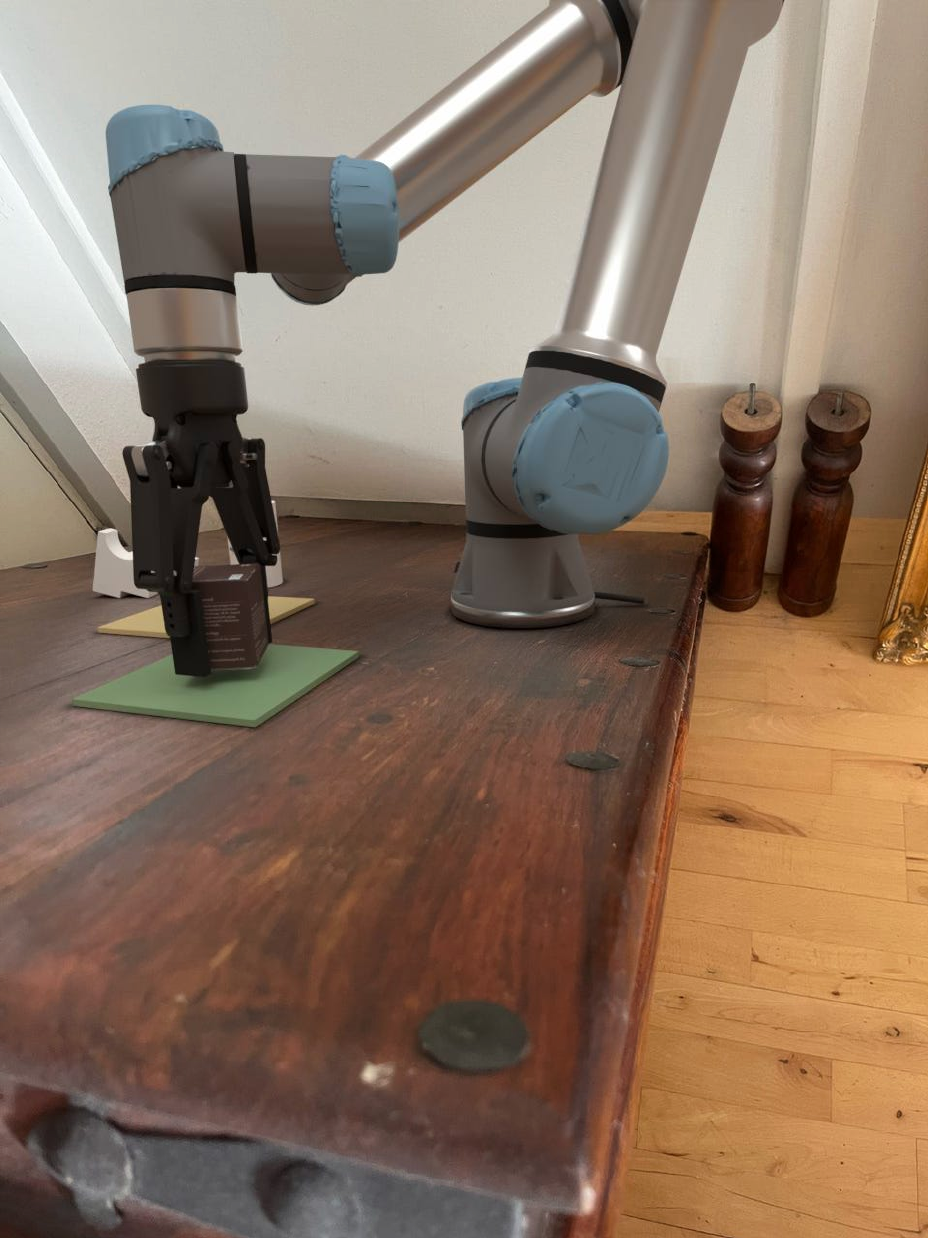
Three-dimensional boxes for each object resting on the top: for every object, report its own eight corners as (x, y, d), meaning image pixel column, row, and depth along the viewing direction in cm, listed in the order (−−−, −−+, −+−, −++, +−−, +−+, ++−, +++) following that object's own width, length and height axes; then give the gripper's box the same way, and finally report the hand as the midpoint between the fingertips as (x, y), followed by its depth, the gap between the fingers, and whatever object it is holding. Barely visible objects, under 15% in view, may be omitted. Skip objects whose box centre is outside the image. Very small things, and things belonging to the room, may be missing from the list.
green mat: (359, 657, 66) (358, 650, 65) (255, 728, 51) (254, 720, 51) (206, 645, 71) (206, 639, 70) (72, 706, 56) (71, 698, 56)
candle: (221, 586, 96) (207, 468, 92) (259, 577, 101) (247, 464, 97) (255, 591, 93) (242, 468, 89) (293, 581, 98) (282, 465, 94)
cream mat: (315, 603, 86) (314, 598, 85) (231, 643, 71) (230, 637, 71) (198, 597, 91) (198, 592, 90) (98, 632, 76) (97, 627, 76)
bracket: (147, 605, 91) (154, 545, 89) (92, 590, 91) (98, 531, 89) (195, 582, 104) (202, 529, 101) (147, 569, 104) (153, 517, 102)
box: (198, 650, 63) (187, 565, 61) (270, 646, 64) (261, 562, 62) (177, 674, 57) (164, 581, 55) (257, 670, 58) (246, 577, 56)
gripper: (231, 369, 65) (259, 621, 71) (31, 354, 46) (92, 698, 52) (306, 364, 63) (329, 626, 69) (129, 346, 44) (181, 708, 50)
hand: (226, 657), depth 60 cm, fingers closed on box, 8 cm apart
